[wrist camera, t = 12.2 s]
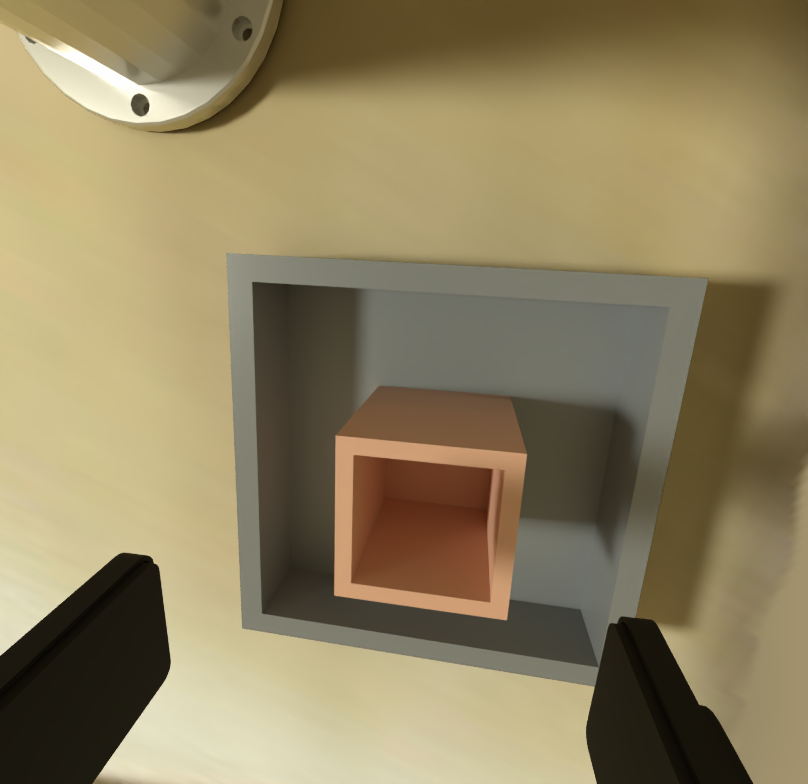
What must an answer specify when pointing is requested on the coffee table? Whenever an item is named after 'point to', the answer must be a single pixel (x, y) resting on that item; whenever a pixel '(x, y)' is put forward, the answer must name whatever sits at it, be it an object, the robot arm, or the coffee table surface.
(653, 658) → the robot arm
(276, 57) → the coffee table surface
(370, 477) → the small crate
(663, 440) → the grey square tray
